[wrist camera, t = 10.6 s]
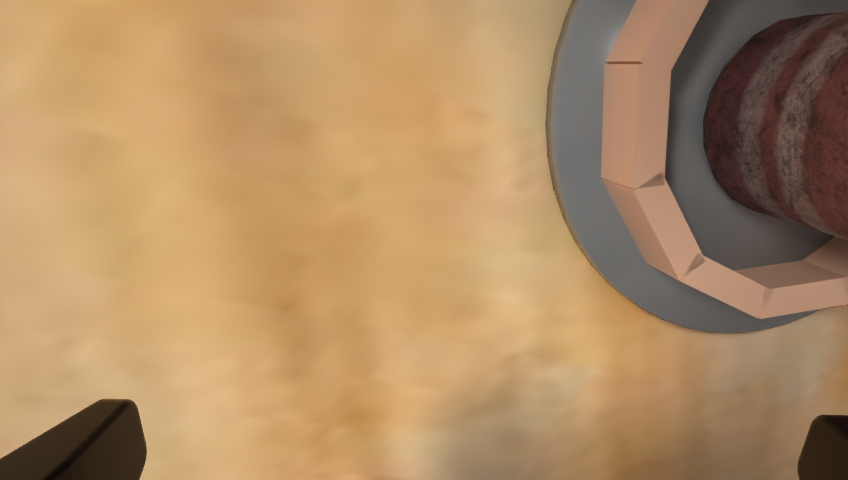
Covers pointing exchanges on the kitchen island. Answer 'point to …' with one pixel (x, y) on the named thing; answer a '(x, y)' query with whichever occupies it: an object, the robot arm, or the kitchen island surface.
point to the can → (785, 123)
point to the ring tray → (674, 167)
